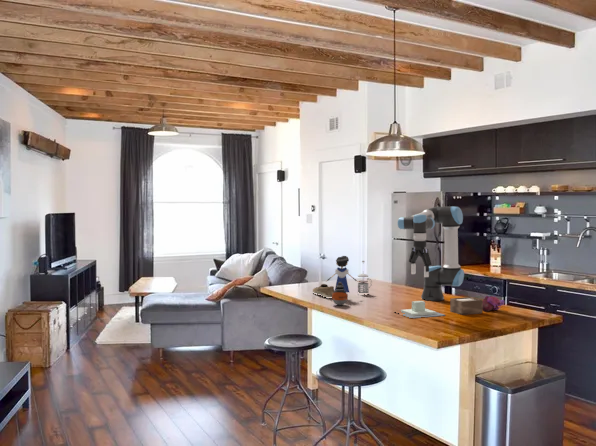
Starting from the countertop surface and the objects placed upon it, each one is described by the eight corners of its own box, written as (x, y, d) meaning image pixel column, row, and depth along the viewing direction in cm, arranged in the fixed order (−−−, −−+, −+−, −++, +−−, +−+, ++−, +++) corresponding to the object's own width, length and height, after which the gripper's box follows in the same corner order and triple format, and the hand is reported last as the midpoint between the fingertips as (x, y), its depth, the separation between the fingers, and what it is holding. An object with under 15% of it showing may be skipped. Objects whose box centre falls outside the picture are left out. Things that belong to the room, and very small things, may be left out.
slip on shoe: (310, 293, 386) (310, 281, 386) (324, 292, 389) (324, 280, 389) (323, 299, 357) (323, 286, 357) (338, 299, 360) (338, 286, 360)
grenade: (347, 307, 329) (347, 283, 328) (331, 306, 331) (331, 283, 331) (348, 304, 340) (348, 281, 339) (333, 303, 342) (333, 281, 341)
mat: (392, 312, 312) (392, 311, 312) (425, 309, 321) (425, 308, 321) (410, 318, 293) (410, 317, 293) (445, 315, 302) (445, 314, 302)
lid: (400, 312, 310) (401, 300, 310) (424, 310, 316) (424, 299, 315) (412, 316, 298) (412, 304, 298) (436, 314, 304) (436, 302, 304)
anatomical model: (484, 311, 312) (508, 307, 312) (481, 296, 314) (504, 292, 315) (478, 313, 323) (501, 309, 324) (474, 298, 326) (497, 294, 326)
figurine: (357, 297, 365) (357, 255, 364) (358, 299, 356) (358, 256, 355) (325, 297, 366) (325, 255, 365) (325, 299, 357) (325, 256, 356)
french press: (360, 292, 386) (360, 259, 385) (374, 294, 379) (374, 260, 378) (354, 294, 378) (354, 260, 377) (368, 296, 371) (368, 261, 370)
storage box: (450, 311, 314) (450, 298, 314) (470, 309, 320) (470, 297, 319) (461, 314, 304) (461, 301, 304) (482, 313, 309) (482, 300, 309)
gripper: (403, 239, 317) (403, 273, 318) (426, 241, 294) (426, 278, 295) (413, 238, 320) (413, 272, 321) (437, 241, 297) (437, 277, 297)
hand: (419, 275), depth 308 cm, fingers open, 13 cm apart
